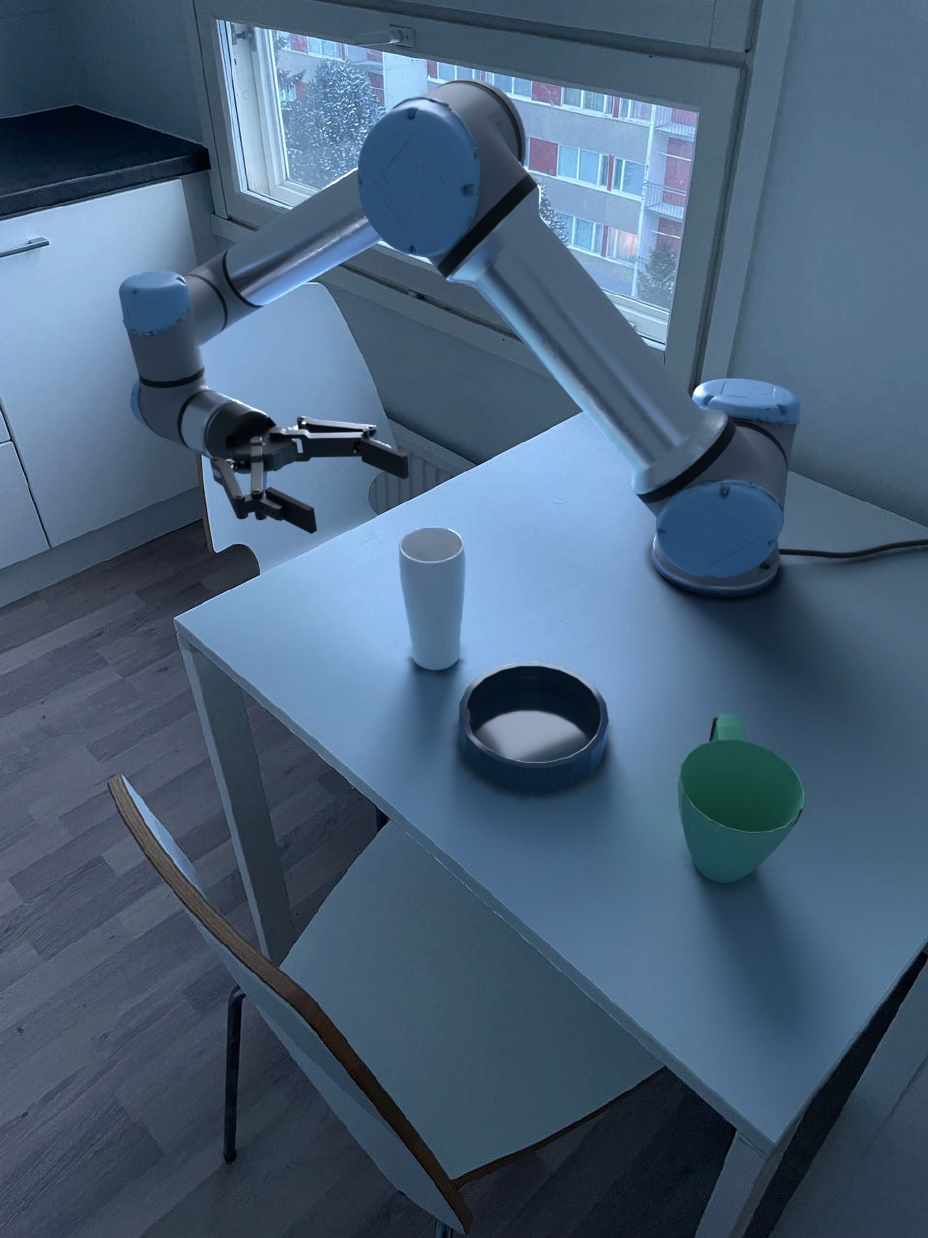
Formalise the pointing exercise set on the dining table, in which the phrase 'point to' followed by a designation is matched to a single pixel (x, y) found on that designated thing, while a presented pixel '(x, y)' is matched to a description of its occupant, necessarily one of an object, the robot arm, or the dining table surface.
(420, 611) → the drinking glass
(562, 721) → the round dark tray
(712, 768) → the mug
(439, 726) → the dining table surface
